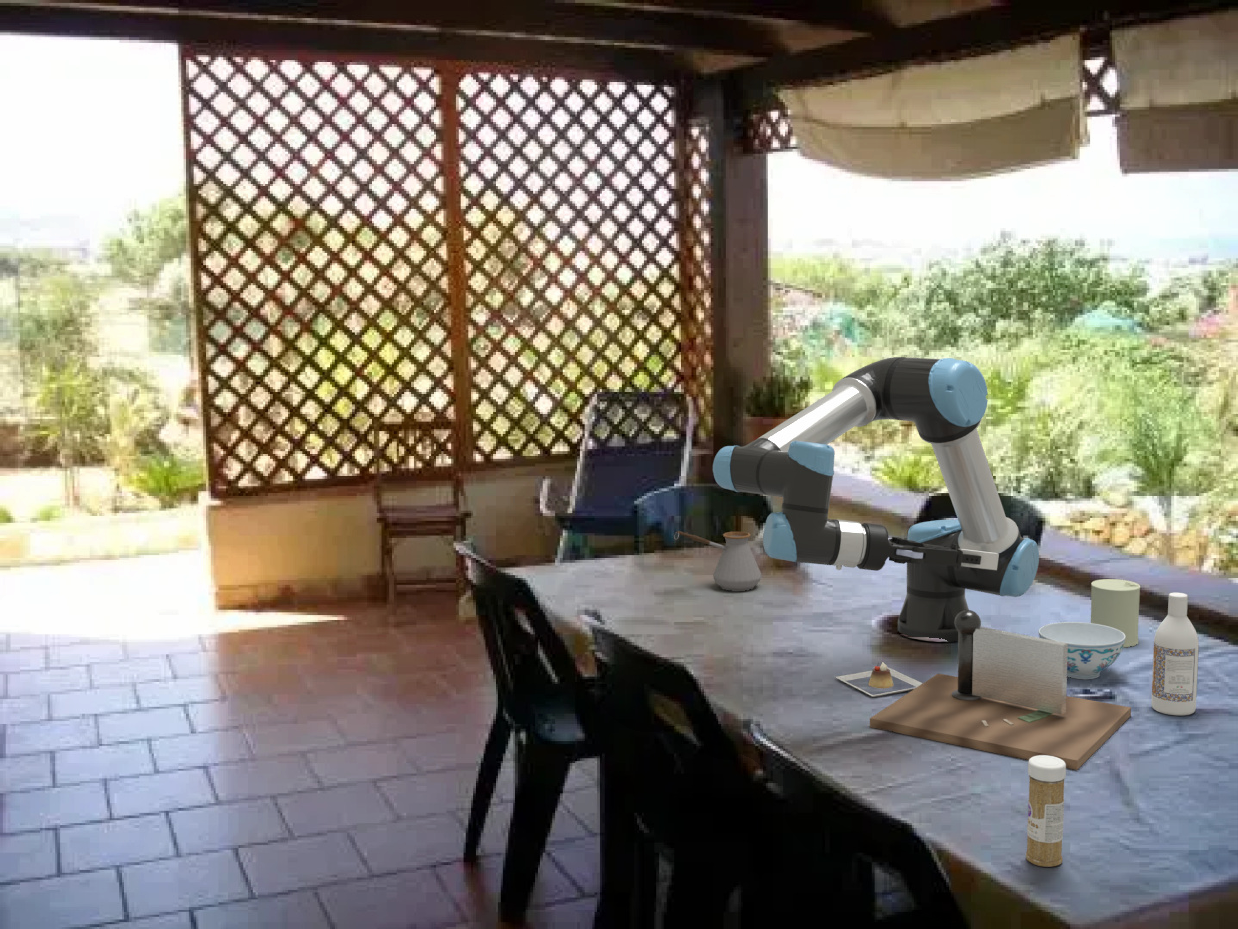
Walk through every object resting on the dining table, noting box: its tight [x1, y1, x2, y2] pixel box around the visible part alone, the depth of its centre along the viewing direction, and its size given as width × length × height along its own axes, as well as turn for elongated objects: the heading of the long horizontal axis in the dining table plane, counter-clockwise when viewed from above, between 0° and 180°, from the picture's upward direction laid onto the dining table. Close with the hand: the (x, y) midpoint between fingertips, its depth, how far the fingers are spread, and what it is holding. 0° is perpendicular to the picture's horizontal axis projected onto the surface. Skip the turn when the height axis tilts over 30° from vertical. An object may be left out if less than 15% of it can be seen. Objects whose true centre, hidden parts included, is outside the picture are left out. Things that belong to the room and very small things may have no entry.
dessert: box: [835, 661, 924, 698], centre depth 239 cm, size 12×12×5 cm
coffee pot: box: [673, 530, 762, 592], centre depth 309 cm, size 21×12×15 cm, turn 109°
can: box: [1090, 578, 1141, 648], centre depth 261 cm, size 9×9×12 cm
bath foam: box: [1150, 592, 1200, 716], centre depth 221 cm, size 7×7×20 cm
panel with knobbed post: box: [954, 609, 1068, 715], centre depth 221 cm, size 20×4×14 cm, turn 47°
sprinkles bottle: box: [1025, 755, 1067, 868], centre depth 168 cm, size 5×5×13 cm
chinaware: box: [1038, 621, 1125, 680], centre depth 242 cm, size 15×15×8 cm
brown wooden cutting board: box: [869, 673, 1132, 771], centre depth 219 cm, size 34×28×2 cm
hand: (995, 561), depth 218 cm, fingers closed
